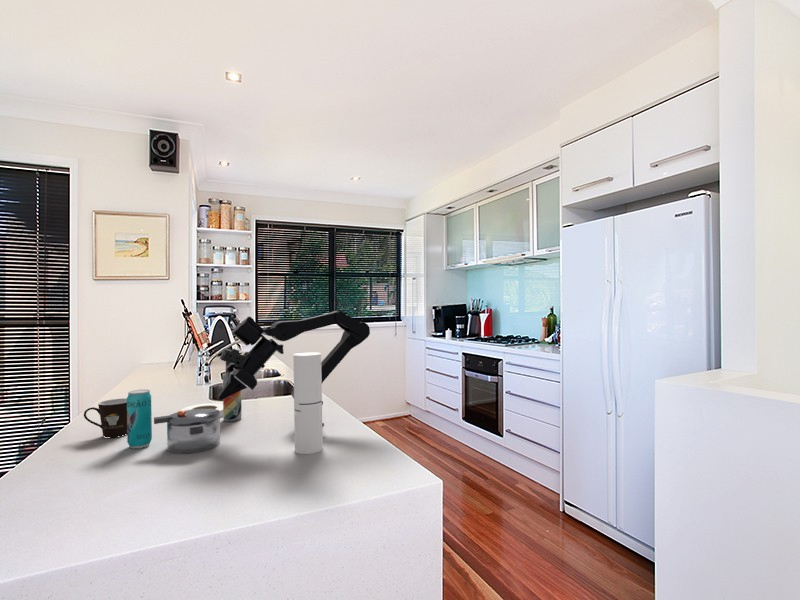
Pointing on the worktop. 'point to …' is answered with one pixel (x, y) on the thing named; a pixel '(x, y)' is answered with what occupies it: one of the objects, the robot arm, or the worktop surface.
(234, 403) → the lotion bottle
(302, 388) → the cylindrical container
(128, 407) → the beverage can
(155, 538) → the worktop surface
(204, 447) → the pot
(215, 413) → the lid
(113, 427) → the coffee mug
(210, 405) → the roll of tape
